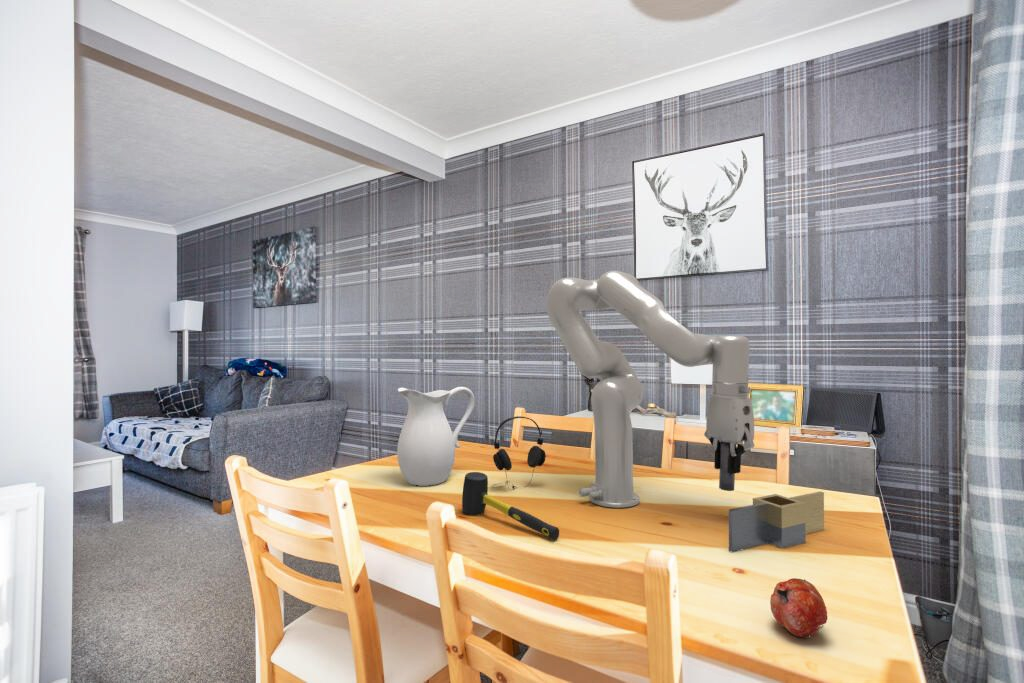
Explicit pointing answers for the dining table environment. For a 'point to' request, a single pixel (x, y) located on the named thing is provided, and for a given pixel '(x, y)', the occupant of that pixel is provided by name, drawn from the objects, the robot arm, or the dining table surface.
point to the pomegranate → (798, 607)
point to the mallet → (498, 505)
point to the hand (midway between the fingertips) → (727, 469)
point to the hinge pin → (725, 467)
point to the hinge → (776, 521)
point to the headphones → (534, 455)
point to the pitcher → (429, 436)
